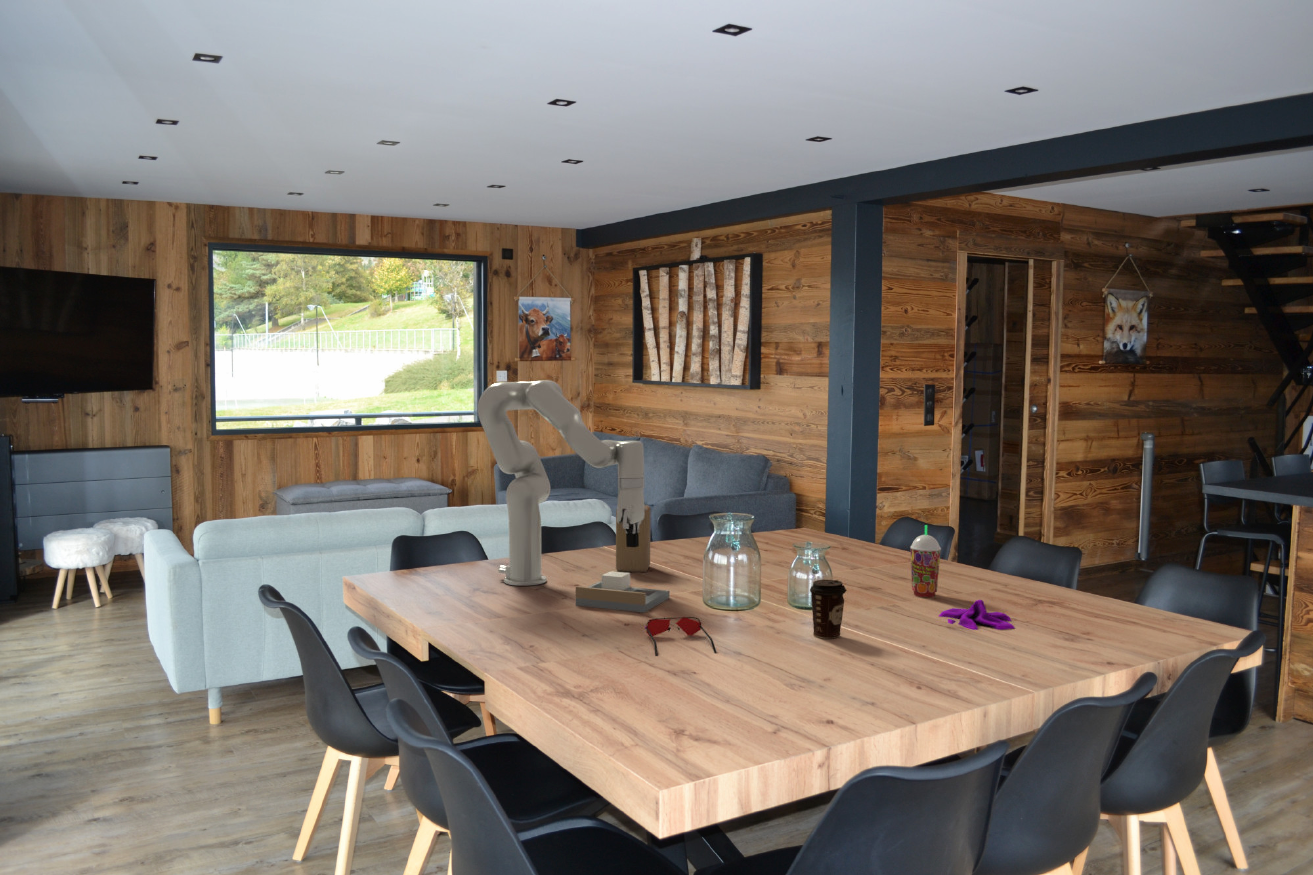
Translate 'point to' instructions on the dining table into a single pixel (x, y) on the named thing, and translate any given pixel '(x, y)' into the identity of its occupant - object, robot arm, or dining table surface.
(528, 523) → the robot arm
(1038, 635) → the dining table surface
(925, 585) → the smoothie
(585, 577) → the dining table surface
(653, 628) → the glasses
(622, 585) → the cream block
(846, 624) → the dining table surface
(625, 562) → the block
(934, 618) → the dining table surface
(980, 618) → the cloth
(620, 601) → the board
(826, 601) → the coffee cup
